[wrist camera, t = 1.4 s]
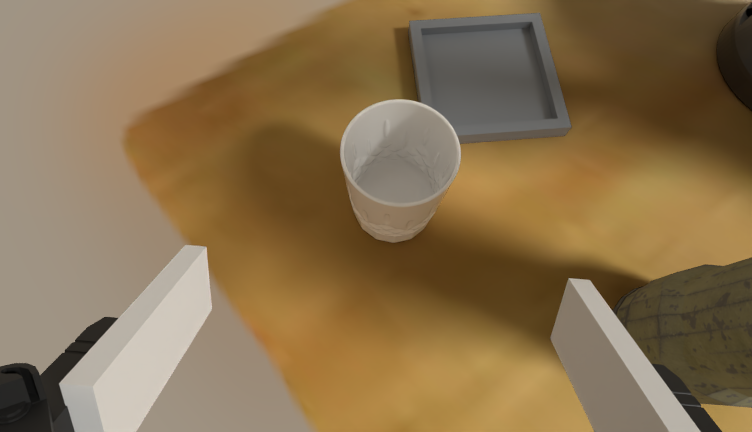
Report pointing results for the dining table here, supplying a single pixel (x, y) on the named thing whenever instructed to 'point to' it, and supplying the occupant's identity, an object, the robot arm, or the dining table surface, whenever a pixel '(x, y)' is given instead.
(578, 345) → the robot arm
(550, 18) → the dining table surface
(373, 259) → the dining table surface
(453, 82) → the charcoal tray
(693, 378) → the thermos
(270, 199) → the dining table surface
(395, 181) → the white cup
